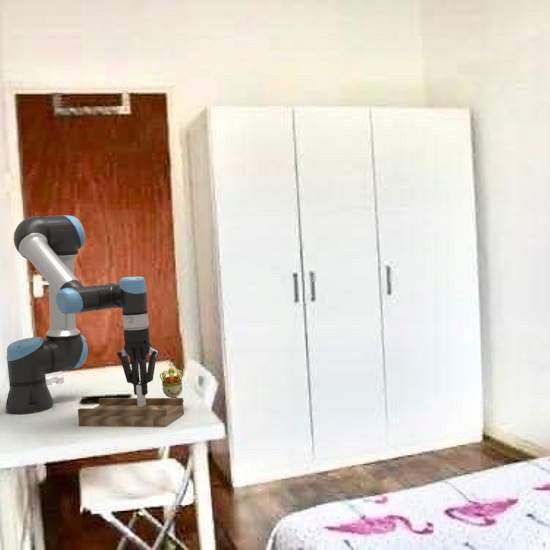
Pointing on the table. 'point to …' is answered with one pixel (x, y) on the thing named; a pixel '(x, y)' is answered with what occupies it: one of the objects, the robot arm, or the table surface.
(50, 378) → the slotted bracket
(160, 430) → the table surface
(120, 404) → the brown wooden tray
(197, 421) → the table surface
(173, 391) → the toy
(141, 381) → the robot arm
